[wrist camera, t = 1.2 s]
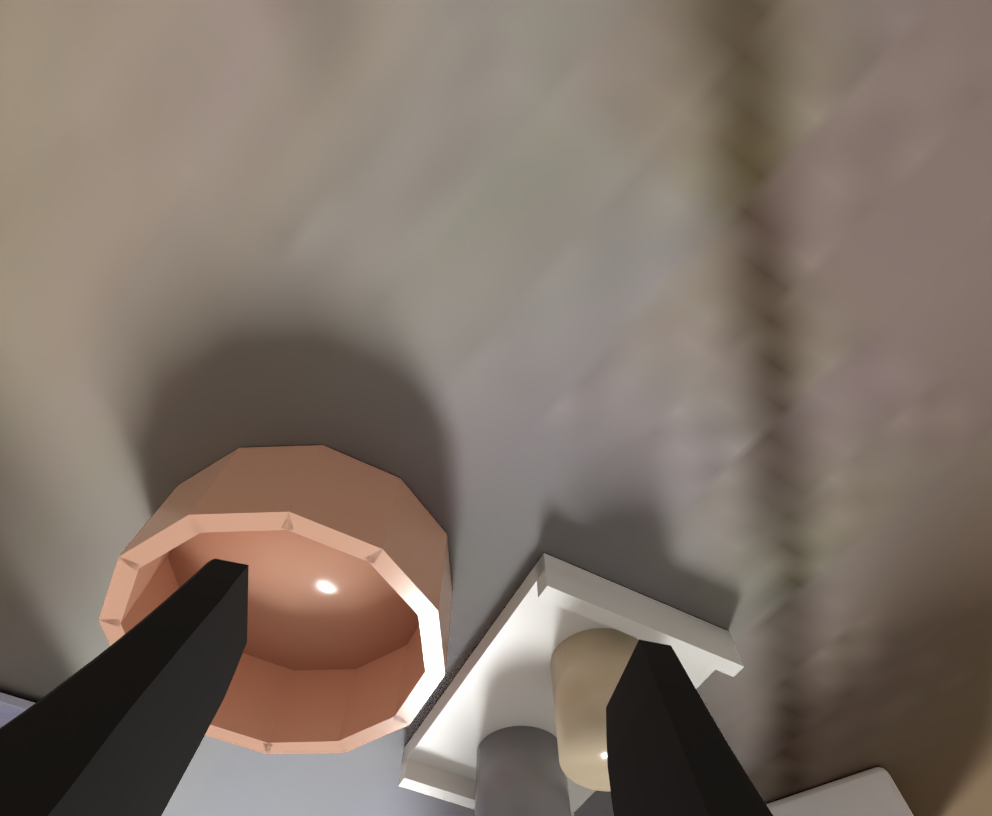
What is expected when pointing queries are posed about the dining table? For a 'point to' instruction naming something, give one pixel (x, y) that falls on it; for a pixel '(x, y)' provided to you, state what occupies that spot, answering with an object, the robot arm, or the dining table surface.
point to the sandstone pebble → (587, 700)
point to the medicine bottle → (847, 798)
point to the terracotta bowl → (305, 593)
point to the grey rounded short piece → (520, 774)
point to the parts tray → (542, 671)
